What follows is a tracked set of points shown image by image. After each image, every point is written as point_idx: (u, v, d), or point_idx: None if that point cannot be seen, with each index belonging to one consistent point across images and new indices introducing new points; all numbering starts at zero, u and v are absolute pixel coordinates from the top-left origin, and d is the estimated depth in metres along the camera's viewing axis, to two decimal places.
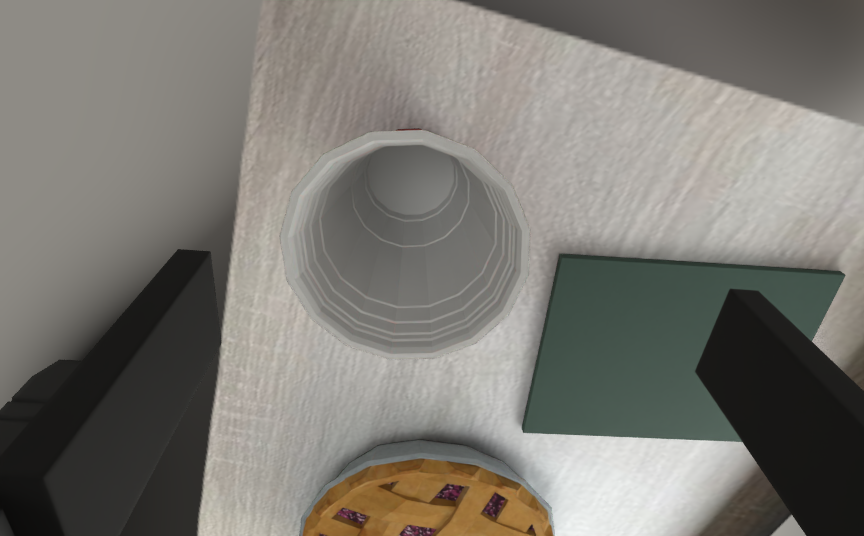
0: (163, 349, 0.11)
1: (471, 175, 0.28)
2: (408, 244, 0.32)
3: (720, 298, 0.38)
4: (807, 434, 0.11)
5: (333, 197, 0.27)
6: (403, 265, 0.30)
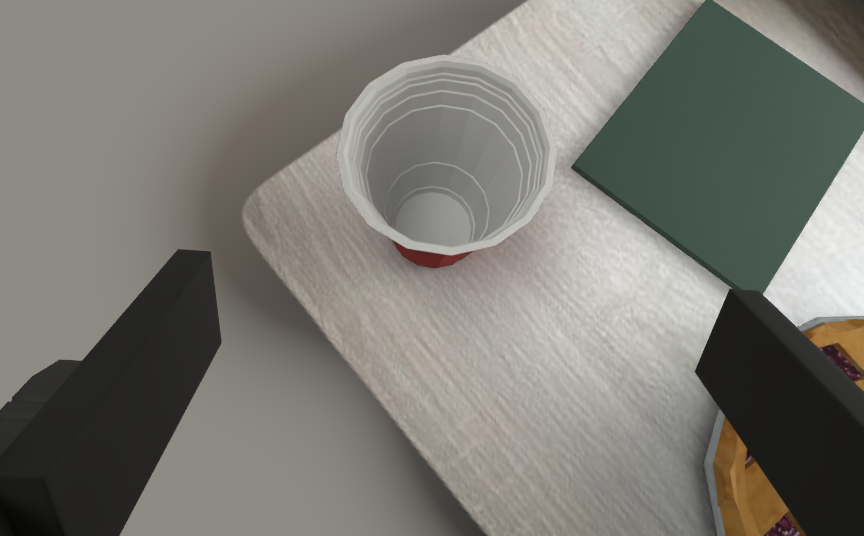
0: (163, 349, 0.11)
1: (444, 142, 0.33)
2: (477, 241, 0.34)
3: (682, 78, 0.42)
4: (807, 434, 0.11)
5: None
6: (485, 237, 0.32)
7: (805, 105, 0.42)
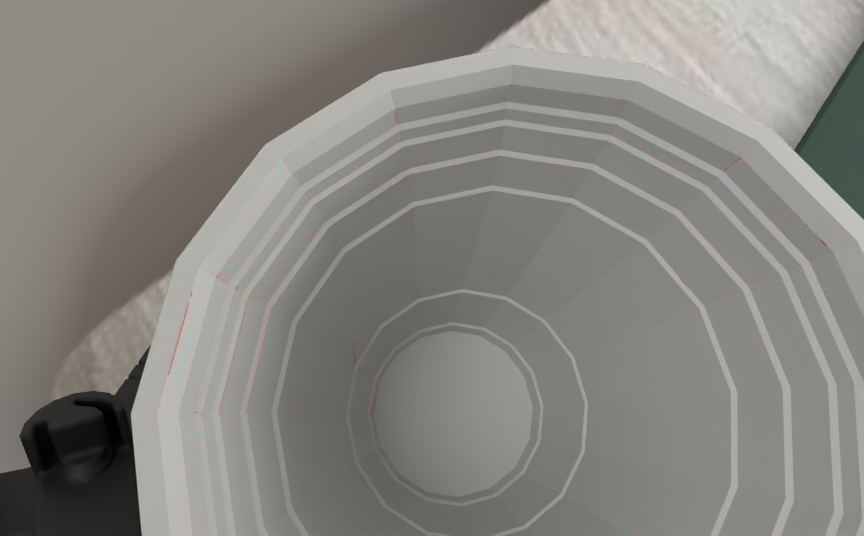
0: None
1: (489, 259, 0.14)
2: (564, 481, 0.15)
3: None
4: None
5: (344, 535, 0.11)
6: (598, 508, 0.13)
7: None
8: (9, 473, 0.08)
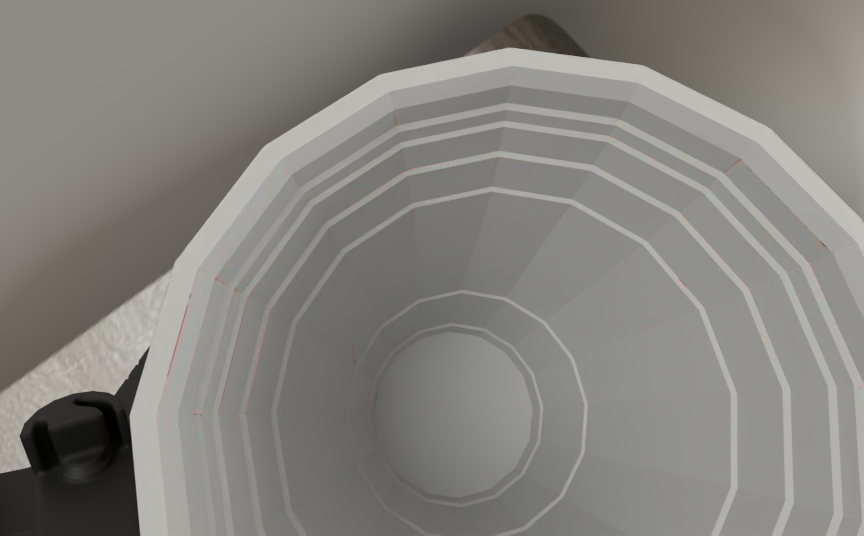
0: None
1: (489, 260, 0.14)
2: (564, 483, 0.15)
3: None
4: None
5: None
6: (599, 510, 0.13)
7: None
8: (9, 473, 0.08)
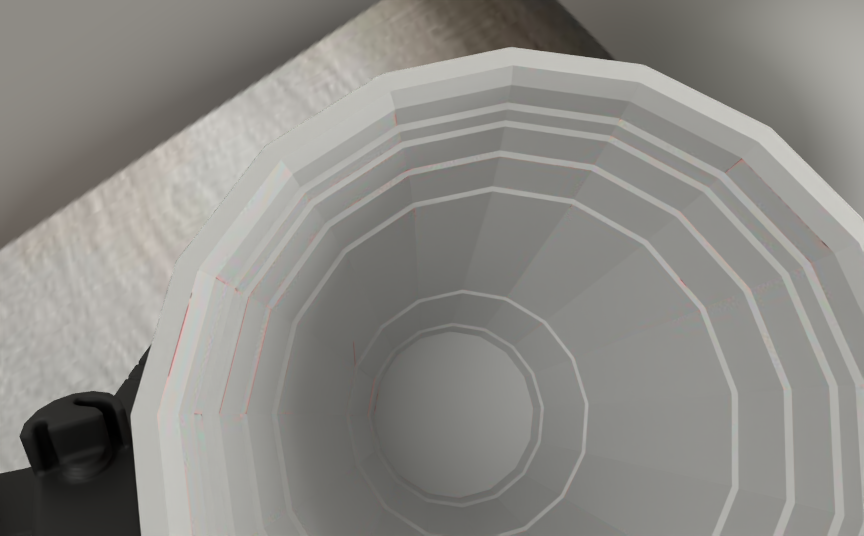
0: None
1: (489, 260, 0.14)
2: (565, 482, 0.15)
3: None
4: None
5: None
6: (599, 510, 0.13)
7: None
8: (9, 472, 0.08)
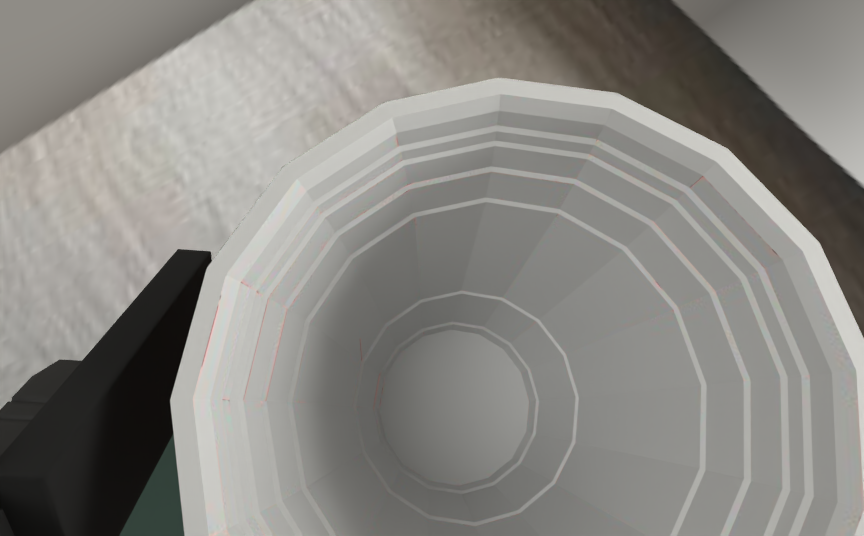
0: (163, 349, 0.11)
1: (485, 263, 0.15)
2: (556, 469, 0.16)
3: None
4: None
5: (352, 513, 0.12)
6: (586, 493, 0.14)
7: None
8: None
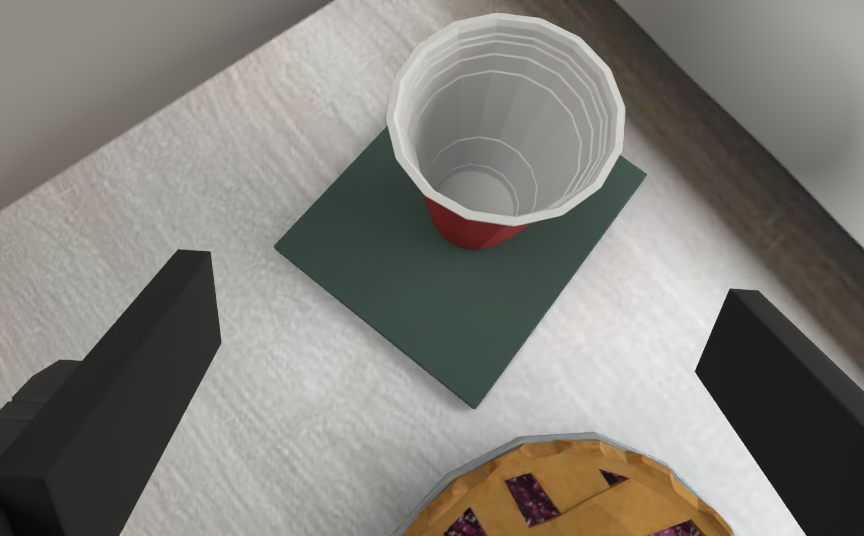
0: (163, 349, 0.11)
1: (490, 113, 0.31)
2: None
3: None
4: (807, 434, 0.11)
5: None
6: None
7: None
8: None
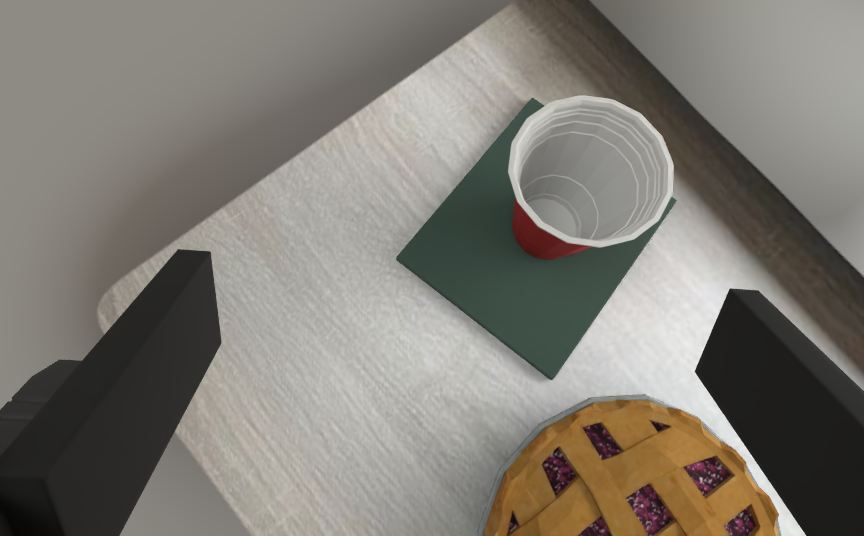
0: (163, 349, 0.11)
1: (565, 159, 0.42)
2: (590, 237, 0.43)
3: (502, 174, 0.47)
4: (807, 434, 0.11)
5: None
6: (602, 234, 0.41)
7: None
8: None
